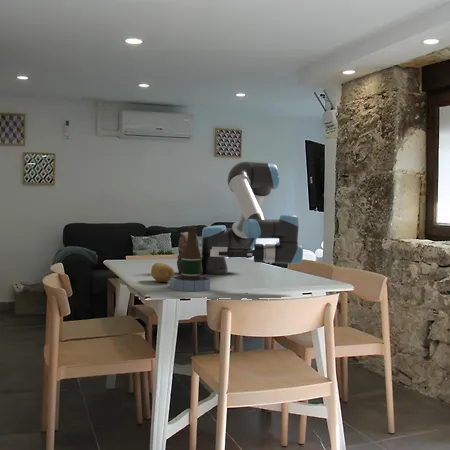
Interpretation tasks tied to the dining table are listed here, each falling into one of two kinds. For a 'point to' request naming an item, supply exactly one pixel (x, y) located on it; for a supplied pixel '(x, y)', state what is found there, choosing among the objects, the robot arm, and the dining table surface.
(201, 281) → the bowl
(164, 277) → the potato
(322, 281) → the dining table surface
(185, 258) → the beer bottle
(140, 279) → the dining table surface
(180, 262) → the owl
